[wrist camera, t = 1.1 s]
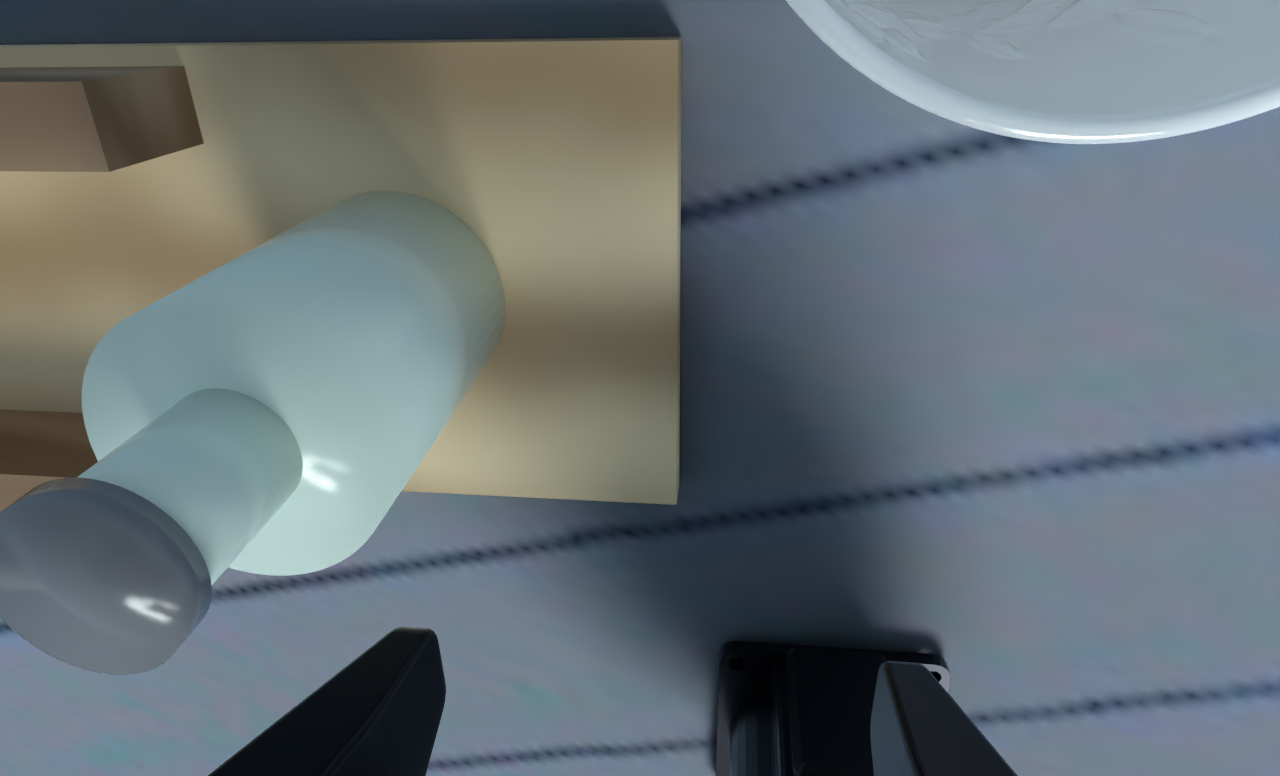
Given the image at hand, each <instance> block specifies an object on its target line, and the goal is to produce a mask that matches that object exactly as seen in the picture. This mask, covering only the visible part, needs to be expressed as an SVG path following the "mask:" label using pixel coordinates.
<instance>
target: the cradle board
mask: <svg viewBox="0 0 1280 776" xmlns="http://www.w3.org/2000/svg"><path fill="white" fill-rule="evenodd" d="M681 70H682V37H616V38H534V39H451V40H368V41H285V42H203V43H120V44H37V45H0V512H1V511H2V510H4V509H5V508H6V507H8V506H9V505H11V504H12V503H13V502H15V501H16V500H18V499H19V498H20V497H22V496H23V495H25V494H26V493H27V492H29V491H30V490H32V489H33V488H34V487H36V486H38V485H40V484H42V483H44V482H48V481H51V480H54V479H60V478H77V477H78V476H79V475H81V474H82V473H83V472H85V471H86V470H87V469H89V468H90V467H92V466H93V465H94V464H96V463H97V462H98V460H97V458H96V456H95V454H94V451H93V449H92V447H91V444H90V442H89V438H88V435H87V432H86V428H85V424H84V418H83V412H82V385H83V378H84V373H85V370H86V367H87V364H88V361H89V358H90V357H91V355H92V353H93V351H94V349H95V347H96V346H97V344H98V343H99V342H100V340H101V339H102V338H103V337H104V336H105V334H106V333H107V332H108V331H109V330H110V329H112V328H113V327H114V326H115V325H116V324H118V323H119V322H120V321H122V320H123V319H125V318H127V317H129V316H130V315H132V314H134V313H136V312H138V311H139V310H141V309H143V308H145V307H147V306H149V305H150V304H152V303H154V302H156V301H158V300H160V299H162V298H163V297H165V296H167V295H169V294H171V293H173V292H174V291H176V290H178V289H180V288H182V287H184V286H185V285H187V284H189V283H191V282H193V281H195V280H196V279H198V278H200V277H202V276H204V275H206V274H207V273H209V272H211V271H213V270H215V269H217V268H218V267H220V266H222V265H224V264H226V263H228V262H229V261H231V260H233V259H235V258H237V257H239V256H241V255H242V254H244V253H246V252H248V251H250V250H252V249H253V248H255V247H257V246H259V245H261V244H263V243H264V242H266V241H268V240H270V239H272V238H274V237H275V236H277V235H279V234H281V233H283V232H285V231H286V230H288V229H290V228H292V227H294V226H296V225H297V224H299V223H301V222H303V221H305V220H307V219H309V218H310V217H312V216H314V215H316V214H318V213H320V212H321V211H323V210H325V209H327V208H329V207H331V206H332V205H334V204H336V203H338V202H340V201H342V200H343V199H345V198H348V197H351V196H354V195H356V194H360V193H365V192H370V191H397V192H403V193H408V194H413V195H416V196H419V197H422V198H424V199H427V200H429V201H431V202H434V203H436V204H438V205H440V206H442V207H443V208H445V209H446V210H448V211H449V212H451V213H452V214H454V215H455V216H456V217H458V218H459V219H460V220H461V221H463V222H464V223H465V224H466V225H467V226H468V227H469V228H470V229H471V230H472V231H473V232H474V233H475V234H476V235H477V237H478V238H479V239H480V240H481V242H482V243H483V244H484V246H485V247H486V249H487V250H488V252H489V254H490V255H491V257H492V259H493V261H494V263H495V265H496V268H497V270H498V272H499V275H500V278H501V282H502V285H503V290H504V296H505V322H504V328H503V332H502V335H501V339H500V341H499V343H498V346H497V348H496V350H495V351H494V353H493V355H492V356H491V358H490V359H489V361H488V362H487V364H486V365H485V367H484V368H483V370H482V371H481V373H480V374H479V376H478V377H477V379H476V380H475V382H474V383H473V385H472V386H471V388H470V389H469V391H468V392H467V394H466V395H465V397H464V398H463V400H462V401H461V403H460V404H459V406H458V407H457V409H456V410H455V412H454V413H453V415H452V416H451V418H450V419H449V421H448V422H447V424H446V425H445V427H444V428H443V429H442V431H441V432H440V434H439V435H438V437H437V438H436V440H435V441H434V443H433V444H432V446H431V447H430V449H429V450H428V452H427V453H426V455H425V456H424V458H423V459H422V461H421V462H420V464H419V465H418V467H417V468H416V470H415V471H414V473H413V474H412V476H411V477H410V479H409V480H408V482H407V483H406V485H405V486H404V488H403V489H402V491H411V492H430V493H450V494H470V495H490V496H509V497H529V498H549V499H569V500H588V501H608V502H628V503H648V504H668V505H677V497H678V489H679V437H680V253H681Z"/></svg>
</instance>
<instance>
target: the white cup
mask: <svg viewBox="0 0 1280 776" xmlns="http://www.w3.org/2000/svg"><path fill="white" fill-rule="evenodd" d="M786 2H787V3H788V4H789V5H790V7H791V8H792V9H793V10H794V11H795V12H796V14H797V15H798V16H799V17H800V18H801V19H802V20H803V22H804V23H805V24H806V25H807V26H808V27H809V28H810V29H811V30H812V31H813V32H814V33H815V34H816V35H817V36H818V37H819V38H820V39H821V40H822V41H823V42H824V43H825V44H826V45H827V46H828V47H830V48H831V49H832V50H833V51H834V52H835V53H836V54H838V55H839V56H840V57H841V58H842V59H844V60H845V61H846V62H847V63H848V64H850V65H851V66H852V67H854V68H855V69H856V70H858V71H859V72H860V73H862V74H863V75H865V76H866V77H867V78H869V79H870V80H872V81H873V82H875V83H876V84H878V85H879V86H881V87H883V88H884V89H886V90H888V91H889V92H891V93H893V94H894V95H896V96H898V97H900V98H902V99H904V100H905V101H907V102H909V103H911V104H913V105H915V106H917V107H919V108H922V109H924V110H926V111H928V112H930V113H933V114H935V115H937V116H940V117H943V118H945V119H948V120H950V121H953V122H956V123H959V124H962V125H965V126H968V127H971V128H975V129H978V130H982V131H986V132H990V133H994V134H998V135H1003V136H1008V137H1013V138H1019V139H1025V140H1033V141H1041V142H1051V143H1066V144H1110V143H1126V142H1137V141H1145V140H1153V139H1160V138H1166V137H1172V136H1178V135H1183V134H1188V133H1193V132H1197V131H1202V130H1206V129H1210V128H1214V127H1218V126H1222V125H1225V124H1229V123H1232V122H1236V121H1239V120H1242V119H1246V118H1249V117H1252V116H1255V115H1258V114H1261V113H1264V112H1267V111H1269V110H1272V109H1275V108H1278V107H1280V0H786Z"/></svg>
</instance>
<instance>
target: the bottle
mask: <svg viewBox="0 0 1280 776" xmlns="http://www.w3.org/2000/svg"><path fill="white" fill-rule="evenodd" d="M504 322H505V296H504V290H503V285H502V282H501V278H500V275H499V272H498V270H497V268H496V265H495V263H494V261H493V259H492V257H491V255H490V254H489V252H488V250H487V249H486V247H485V246H484V244H483V243H482V242H481V240H480V239H479V238H478V237H477V235H476V234H475V233H474V232H473V231H472V230H471V229H470V228H469V227H468V226H467V225H466V224H465V223H464V222H463V221H461V220H460V219H459V218H458V217H456V216H455V215H454V214H452V213H451V212H449V211H448V210H446V209H445V208H443V207H442V206H440V205H438V204H436V203H434V202H431V201H429V200H427V199H424V198H422V197H419V196H416V195H413V194H408V193H403V192H397V191H370V192H365V193H360V194H356V195H354V196H351V197H348V198H345V199H343V200H342V201H340V202H338V203H336V204H334V205H332V206H331V207H329V208H327V209H325V210H323V211H321V212H320V213H318V214H316V215H314V216H312V217H310V218H309V219H307V220H305V221H303V222H301V223H299V224H297V225H296V226H294V227H292V228H290V229H288V230H286V231H285V232H283V233H281V234H279V235H277V236H275V237H274V238H272V239H270V240H268V241H266V242H264V243H263V244H261V245H259V246H257V247H255V248H253V249H252V250H250V251H248V252H246V253H244V254H242V255H241V256H239V257H237V258H235V259H233V260H231V261H229V262H228V263H226V264H224V265H222V266H220V267H218V268H217V269H215V270H213V271H211V272H209V273H207V274H206V275H204V276H202V277H200V278H198V279H196V280H195V281H193V282H191V283H189V284H187V285H185V286H184V287H182V288H180V289H178V290H176V291H174V292H173V293H171V294H169V295H167V296H165V297H163V298H162V299H160V300H158V301H156V302H154V303H152V304H150V305H149V306H147V307H145V308H143V309H141V310H139V311H138V312H136V313H134V314H132V315H130V316H129V317H127V318H125V319H123V320H122V321H120V322H119V323H118V324H116V325H115V326H114V327H113V328H112V329H110V330H109V331H108V332H107V333H106V334H105V336H104V337H103V338H102V339H101V340H100V342H99V343H98V344H97V346H96V347H95V349H94V351H93V353H92V355H91V357H90V358H89V361H88V364H87V367H86V370H85V373H84V378H83V385H82V412H83V418H84V424H85V428H86V432H87V435H88V438H89V442H90V444H91V447H92V449H93V451H94V454H95V456H96V458H97V460H98V462H97V463H96V464H94V465H93V466H92V467H90V468H89V469H87V470H86V471H85V472H83V473H82V474H81V475H79V476H78V477H77V478H60V479H54V480H51V481H48V482H44V483H42V484H40V485H38V486H36V487H34V488H33V489H32V490H30V491H29V492H27V493H26V494H25V495H23V496H22V497H20V498H19V499H18V500H16V501H15V502H13V503H12V504H11V505H9V506H8V507H6V508H5V509H4V510H2V511H1V512H0V617H1V618H2V619H3V620H4V621H5V622H6V623H7V624H8V625H9V626H10V627H11V628H12V629H13V630H14V631H15V632H16V633H18V634H19V635H20V636H21V637H22V638H24V639H25V640H26V641H28V642H29V643H31V644H32V645H33V646H35V647H36V648H38V649H40V650H41V651H43V652H45V653H46V654H48V655H50V656H52V657H54V658H56V659H58V660H60V661H63V662H65V663H67V664H70V665H72V666H75V667H78V668H82V669H85V670H89V671H93V672H97V673H104V674H112V675H128V674H137V673H142V672H146V671H149V670H151V669H154V668H156V667H158V666H160V665H161V664H163V663H164V662H166V661H167V660H168V659H169V658H170V657H171V656H172V655H173V654H174V653H175V651H176V650H177V649H178V648H179V647H180V645H181V644H182V643H183V642H184V641H185V640H186V638H187V637H188V636H189V635H190V634H191V632H192V631H193V630H194V629H195V628H196V627H197V625H198V624H199V623H200V622H201V620H202V619H203V618H204V617H205V615H206V613H207V611H208V609H209V605H210V602H211V594H212V588H211V586H212V585H213V583H214V582H215V581H216V580H217V579H218V578H219V577H220V576H221V574H222V573H223V572H224V571H225V570H226V569H227V568H228V567H229V568H232V569H236V570H240V571H245V572H249V573H255V574H264V575H297V574H306V573H310V572H314V571H318V570H322V569H325V568H327V567H330V566H332V565H335V564H337V563H339V562H341V561H342V560H344V559H346V558H348V557H349V556H351V555H352V554H353V553H354V552H356V551H357V550H358V549H359V548H361V547H362V546H363V544H364V543H365V542H366V541H367V540H368V539H369V538H370V536H371V535H372V534H373V532H374V531H375V529H376V528H377V526H378V525H379V523H380V522H381V520H382V519H383V517H384V516H385V514H386V513H387V511H388V510H389V508H390V507H391V506H392V504H393V503H394V501H395V500H396V498H397V497H398V495H399V494H400V492H401V491H402V489H403V488H404V486H405V485H406V483H407V482H408V480H409V479H410V477H411V476H412V474H413V473H414V471H415V470H416V468H417V467H418V465H419V464H420V462H421V461H422V459H423V458H424V456H425V455H426V453H427V452H428V450H429V449H430V447H431V446H432V444H433V443H434V441H435V440H436V438H437V437H438V435H439V434H440V432H441V431H442V429H443V428H444V427H445V425H446V424H447V422H448V421H449V419H450V418H451V416H452V415H453V413H454V412H455V410H456V409H457V407H458V406H459V404H460V403H461V401H462V400H463V398H464V397H465V395H466V394H467V392H468V391H469V389H470V388H471V386H472V385H473V383H474V382H475V380H476V379H477V377H478V376H479V374H480V373H481V371H482V370H483V368H484V367H485V365H486V364H487V362H488V361H489V359H490V358H491V356H492V355H493V353H494V351H495V350H496V348H497V346H498V343H499V341H500V339H501V335H502V332H503V328H504Z"/></svg>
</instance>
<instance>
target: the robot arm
mask: <svg viewBox="0 0 1280 776" xmlns="http://www.w3.org/2000/svg"><path fill="white" fill-rule="evenodd" d="M735 657H738V658H742V659H741V660H734V659H732V658H735ZM930 671H935V672H934V673H931V672H930ZM949 683H950V672H949V669H948V666H947V663H946V662H945V660H944V659H943V658H941V657H940V656H938V655H933V654H922V653H907V652H892V651H878V650H863V649H848V648H834V647H819V646H804V645H790V644H775V643H760V642H746V641H731V642H729V643H726V644H725V645H724V646H723V647H722V648H721V651H720V667H719V695H718V722H717V750H716V776H1017V775H1016V773H1015V772H1014V771H1013V770H1012V769H1011V767H1010V766H1009V765H1008V764H1007V763H1006V762H1005V760H1004V759H1003V758H1002V757H1001V756H1000V754H999V753H998V752H997V751H996V750H995V748H994V747H993V746H992V745H991V744H990V742H989V741H988V740H987V739H986V738H985V736H984V735H983V734H982V733H981V732H980V731H979V729H978V728H977V727H976V726H975V725H974V723H973V722H972V721H971V720H970V719H969V717H968V716H967V715H966V714H965V713H964V711H963V710H962V709H961V708H960V707H959V705H958V704H957V703H956V702H955V701H954V700H953V698H952V697H951V696H950V695H949V694H948V688H949ZM445 695H446V685H445V678H444V672H443V666H442V660H441V655H440V649H439V643H438V639H437V636H436V634H435V632H434V631H433V630H430V629H425V628H410V627H399V628H396V629H394V630H392V631H390V632H389V633H388V634H387V635H385V636H384V637H383V638H381V639H380V640H379V641H378V642H376V643H375V644H374V645H373V646H371V647H370V648H369V649H368V650H366V651H365V652H364V653H362V654H361V655H360V656H359V657H357V658H356V659H355V660H354V661H352V662H351V663H350V664H349V665H347V666H346V667H345V668H343V669H342V670H341V671H340V672H338V673H337V674H336V675H335V676H333V677H332V678H331V679H330V680H328V681H327V682H326V683H325V684H323V685H322V686H321V687H319V688H318V689H317V690H316V691H314V692H313V693H312V694H311V695H309V696H308V697H307V698H306V699H304V700H303V701H302V702H300V703H299V704H298V705H297V706H295V707H294V708H293V709H292V710H290V711H289V712H288V713H287V714H285V715H284V716H283V717H281V718H280V719H279V720H278V721H276V722H275V723H274V724H273V725H271V726H270V727H269V728H268V729H266V730H265V731H264V732H263V733H261V734H260V735H259V736H257V737H256V738H255V739H254V740H252V741H251V742H250V743H249V744H247V745H246V746H245V747H244V748H242V749H241V750H240V751H238V752H237V753H236V754H235V755H233V756H232V757H231V758H230V759H228V760H227V761H226V762H225V763H223V764H222V765H221V766H219V767H218V768H217V769H216V770H214V771H213V772H212V773H211V774H209V775H208V776H425V775H426V772H427V768H428V764H429V761H430V757H431V753H432V749H433V746H434V742H435V738H436V734H437V731H438V727H439V723H440V720H441V716H442V712H443V708H444V703H445Z"/></svg>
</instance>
